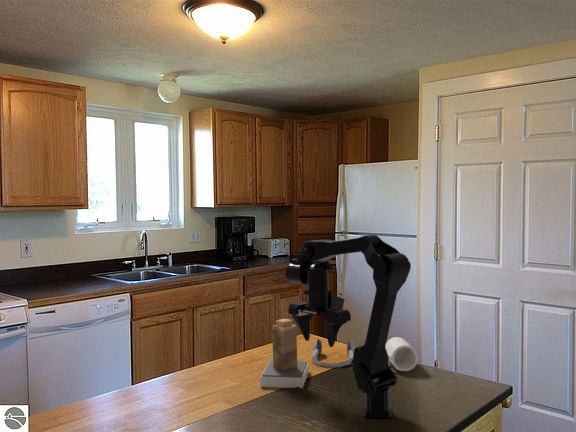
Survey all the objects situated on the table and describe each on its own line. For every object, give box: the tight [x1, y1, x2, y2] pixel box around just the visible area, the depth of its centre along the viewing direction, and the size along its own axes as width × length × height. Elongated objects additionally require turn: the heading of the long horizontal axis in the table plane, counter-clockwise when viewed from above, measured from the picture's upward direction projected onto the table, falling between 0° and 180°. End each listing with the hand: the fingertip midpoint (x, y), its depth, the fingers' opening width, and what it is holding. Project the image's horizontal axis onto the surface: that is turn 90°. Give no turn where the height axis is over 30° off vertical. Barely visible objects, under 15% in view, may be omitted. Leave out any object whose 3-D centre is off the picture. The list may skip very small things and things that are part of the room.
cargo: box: [275, 318, 293, 327], centre depth 147 cm, size 3×3×2 cm
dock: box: [259, 360, 310, 389], centre depth 147 cm, size 14×12×3 cm
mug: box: [385, 336, 419, 372], centre depth 156 cm, size 12×10×8 cm
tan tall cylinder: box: [271, 323, 298, 372], centre depth 147 cm, size 5×5×12 cm
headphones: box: [311, 338, 362, 368], centre depth 166 cm, size 17×6×20 cm
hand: (319, 343), depth 136 cm, fingers open, 9 cm apart
